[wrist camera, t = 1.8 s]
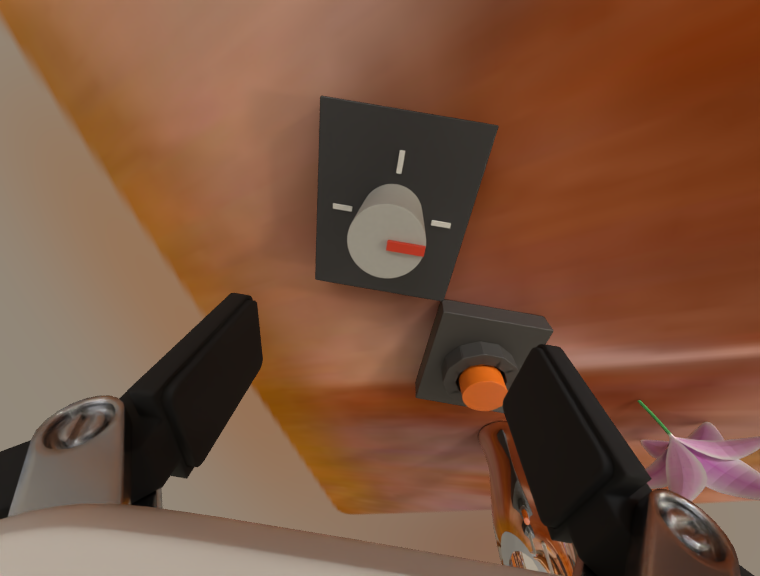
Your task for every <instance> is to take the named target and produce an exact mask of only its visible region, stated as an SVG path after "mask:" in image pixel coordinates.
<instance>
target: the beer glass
mask: <svg viewBox="0 0 760 576" xmlns="http://www.w3.org/2000/svg"><path fill="white" fill-rule="evenodd" d="M478 439H479V442H480V445H481V447H482V450H483V452H484V454H485V457H486V460H487V464H488V469H489V477H490V492H491V507H492V517H493V526H494V532H495V537H496V542H497V547H498V551H499V555H500V560H501V563H502V565H506V566H511V567H517V568H523V569H528V570H534V571H540V572H546V573H551V574H557V575H563V576H572V573H573V569H574V566H575V562H576V558H577V551H576V549H575V546H574V544H573V543H565V542H559V541H553V540H551V537H550V534H549V531H548V528H547V526H545V525H544V524H543V523H542V522H541V520H540V518H539V515H538V512H537V509H536V506H535V503H534V500H533V497H532V494H531V491H530V488H529V485H528V482H527V479H526V476H525V473H524V470H523V467H522V464H521V461H520V458H519V455H518V452H517V449H516V446H515V443H514V440H513V437H512V435H511V432H510V429H509V426H508V423H507V421H501V422H495V423H491V424H489V425H487V426H485V427H484V428H482V429H481V431H480V432H479V435H478Z"/></svg>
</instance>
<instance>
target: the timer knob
mask: <svg viewBox="0 0 760 576" xmlns="http://www.w3.org/2000/svg"><path fill="white" fill-rule="evenodd" d="M347 244H348V249H349V253H350V255H351V257H352V259H353V260H354V262H355V263H356V264H357V265H358V266H359V267H360V268H361V269H362V270H363V271H365V272H366V273H368V274H370V275H373V276H375V277H379V278H396V277H400V276H402V275H405V274H407V273H409V272H410V271H412V270H413V269H414V268H415V267H416V266H417V265H418V264H419V262H420V261H421V259H422V257H424V253H425V249H426V234H425V227H424V220H423V213H422V207H421V204H420V201H419V200H418V198H417V196H416V195H415V194H414V193H413V192H412V191H411V190H409V189H408V188H406V187H404V186H402V185H398V184H386V185H382V186H380V187H378V188H376V189H374V190H373V191H372V192H371V193H370V194H369V195H368V196H367V198H366V199H365V201H364V202H363V204H362V206H361V208H360V209H359V211H358V213H357V214H356V216H355V218H354V219H353V221H352V223H351V225H350V227H349V230H348V235H347Z"/></svg>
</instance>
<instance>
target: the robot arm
mask: <svg viewBox="0 0 760 576" xmlns="http://www.w3.org/2000/svg"><path fill="white" fill-rule="evenodd" d="M262 361H263V357H262V347H261V337H260V327H259V318H258V308H257V302H256V301H253V300H252V297H251V296H249V295H243V294H237V293H231V294H230V295H228V296H227V297H226V298H225V299H224V300H223V301H222V302H221V303H220V304H219V305H218V306H217V307H216V308H215V309H214V310H213V311H211V312H210V313H209V314H208V315H207V316H206V317H205V318H204V319H203V320H202V321H201V322H200V323H199V324H198V325H197V326H195V327H194V328H193V329H192V330H191V332H189V333H188V334H187V335H186V336H185V337H184V338H183V339H182V340H181V341H180V342H178V343H177V344H176V345H175V346H174V347H173V348H172V349H171V350H170V351H169V352H168V353H167V354H166V355H165V356H164V357H162V359H161V360H159V361H158V362H157V363H156V364H155V365H154V366H153V367H152V368H151V369H150V370H149V371H148V372H147V373H146V374H144V375H143V376H142V377H141V378H140V379H139V380H138V381H137V382H136V383H135V384H134V385H133V386H132V387H131V388H130V389H128V390H127V392H126V393H125V394H124V395H123V396H122V397H121V398H119V399H118V398H117V397H113V396H95V397H91V398H86V399H83V400H80V401H78V402H75V403H72V404H70V405H68V406H67V407H65V408H63V409H61V410H59V411H57V412H56V413H55V414H53V415H52V416H51V417H49V418H48V419H47V420H45V422H44V423H43V424H42V425H41V426H40V427H39V428H38V429H37V430H36V432H35V434H34V435H33V437H32V439H31V440H30V441H28V442H25V443H22V444H20V445H17V446H15V447H12V448H9V449H6V450H4V451H1V452H0V576H563V575H557V574H551V573H546V572H540V571H534V570H528V569H523V568H517V567H511V566H506V565H500V564H494V563H488V562H483V561H477V560H471V559H466V558H460V557H454V556H449V555H442V554H437V553H431V552H425V551H419V550H413V549H408V548H402V547H395V546H390V545H384V544H378V543H372V542H366V541H361V540H355V539H349V538H343V537H336V536H331V535H325V534H319V533H313V532H306V531H301V530H295V529H288V528H283V527H277V526H271V525H264V524H258V523H252V522H246V521H240V520H234V519H228V518H222V517H216V516H209V515H202V514H195V513H188V512H181V511H173V510H167V509H162V492H161V488H162V487H163V485H164V484H165V483H166V481H167V480H168V478H169V477H170V476H176V477H182V478H188V476H189V474H190V473H191V471H192V470H193V468H194V467H198V466H200V465H201V464H202V463H203V461H204V460H205V458H206V457H207V455H208V453H209V452H210V450H211V448H212V447H213V445H214V443H215V442H216V440H217V439H218V437H219V435H220V434H221V432H222V430H223V429H224V427H225V426H226V424H227V422H228V421H229V419H230V417H231V416H232V414H233V412H234V411H235V409H236V408H237V406H238V404H239V403H240V401H241V399H242V397H243V396H244V394H245V393H246V391H247V390H248V388H249V386H250V385H251V383H252V381H253V380H254V378H255V376H256V375H257V373H258V372H259V370H260V368H261V365H262ZM503 411H504V414H505V417H506V420H507V423H508V426H509V429H510V432H511V435H512V437H513V440H514V443H515V446H516V449H517V452H518V455H519V458H520V461H521V464H522V467H523V470H524V473H525V476H526V479H527V482H528V485H529V488H530V491H531V494H532V497H533V500H534V503H535V506H536V509H537V512H538V515H539V518H540V520H541V522H542V523H543V524H544V525H545V526H547V528H548V531H549V534H550V537H551V540H553V541H559V542H565V543H573V544H574V546H575V549H576V551H577V558H576V562H575V566H574V569H573V573H572V576H754V575H752V574H751V573H750V572H748V571H747V570H746V569H744V568H743V567H742V566H740V565H739V562H738V558H737V555H736V552H735V549H734V547H733V545H732V544H731V542H730V540H729V539H728V537H727V536H726V534H725V533H724V532H723V531H722V530H721V528H720V527H719V526H718V525H717V523H716V522H715V521H714V520H713V519H712V518H710V517H709V516H708V515H707V514H706V513H705V512H704V511H703V510H702V509H701V508H699V507H698V506H697V505H695V504H694V503H693V502H691V501H690V500H688V499H686V498H685V497H683V496H681V495H679V494H678V493H675V492H672V491H670V490H667V489H655V490H653V491H652V490H651V488H650V487H649V485H648V484H647V482H649V481H650V480H651V479H652V478H651V477H650V476H649V474H648V473H647V471H646V470H645V468H644V467H643V465H642V464H641V463H640V461H639V460H638V458H637V457H636V455H635V454H634V452H633V451H632V450H631V448H630V447H629V445H628V444H627V442H626V441H625V439H624V438H623V437H622V435H621V434H620V432H619V431H618V429H617V428H616V426H615V425H614V424H613V422H612V421H611V419H610V418H609V416H608V415H607V413H606V412H605V411H604V409H603V408H602V406H601V405H600V403H599V402H598V400H597V399H596V398H595V396H594V395H593V393H592V392H591V390H590V389H589V387H588V386H587V385H586V383H585V382H584V380H583V379H582V377H581V376H580V374H579V373H578V371H577V370H576V369H575V367H574V366H573V364H572V363H571V361H570V360H569V358H568V357H567V356H566V354H565V353H564V351H563V350H562V349H561V348H560V347H557V346H551V345H545V344H539V345H538V346H537V347H534V348H532V349H531V351H530V352H529V354H528V356H527V358H526V360H525V361H524V363H523V365H522V367H521V369H520V370H519V372H518V374H517V376H516V378H515V379H514V381H513V383H512V385H511V387H510V388H509V390H508V392H507V394H506V396H505V397H504V400H503Z"/></svg>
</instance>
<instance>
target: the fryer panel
mask: <svg viewBox="0 0 760 576" xmlns="http://www.w3.org/2000/svg"><path fill="white" fill-rule="evenodd" d="M497 130H498V125H493V124H487V123H481V122H475V121H469V120H463V119H457V118H451V117H445V116H439V115H433V114H428V113H422V112H416V111H410V110H404V109H398V108H392V107H386V106H380V105H374V104H368V103H362V102H356V101H350V100H344V99H339V98H333V97H327V96H321V97H320V127H319V163H318V199H317V235H316V272H315V279H316V280H321V281H327V282H333V283H339V284H344V285H350V286H356V287H362V288H368V289H373V290H379V291H385V292H391V293H397V294H402V295H408V296H414V297H420V298H426V299H431V300H437V301H444V297H445V294H446V291H447V288H448V285H449V282H450V278H451V275H452V272H453V269H454V266H455V263H456V259H457V256H458V253H459V250H460V247H461V244H462V240H463V237H464V234H465V231H466V228H467V225H468V221H469V218H470V215H471V212H472V209H473V206H474V202H475V199H476V196H477V193H478V190H479V187H480V183H481V180H482V177H483V174H484V171H485V168H486V164H487V161H488V158H489V155H490V152H491V149H492V145H493V142H494V139H495V136H496V133H497ZM386 184H398V185H402V186H404V187H406V188H408V189H409V190H411V191H412V192H413V193H414V194H415V195H416V196H417V198H418V200H419V201H420V204H421V207H422V213H423V220H424V227H425V234H426V249H425V253H424V257H422V259H421V261H420V262H419V264H418V265H417V266H416V267H415V268H414V269H413V270H412V271H410V272H409V273H407V274H405V275H402V276H400V277H396V278H379V277H375V276H373V275H370V274H368V273H366V272H365V271H363V270H362V269H361V268H360V267H359V266H358V265H357V264H356V263H355V262H354V260H353V259H352V257H351V255H350V253H349V249H348V244H347V235H348V230H349V227H350V225H351V223H352V221H353V219H354V218H355V216H356V214H357V213H358V211H359V209H360V208H361V206H362V204H363V202H364V201H365V199H366V198H367V196H368V195H369V194H370V193H371V192H372V191H373V190H374V189H376V188H378V187H380V186H382V185H386Z"/></svg>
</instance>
